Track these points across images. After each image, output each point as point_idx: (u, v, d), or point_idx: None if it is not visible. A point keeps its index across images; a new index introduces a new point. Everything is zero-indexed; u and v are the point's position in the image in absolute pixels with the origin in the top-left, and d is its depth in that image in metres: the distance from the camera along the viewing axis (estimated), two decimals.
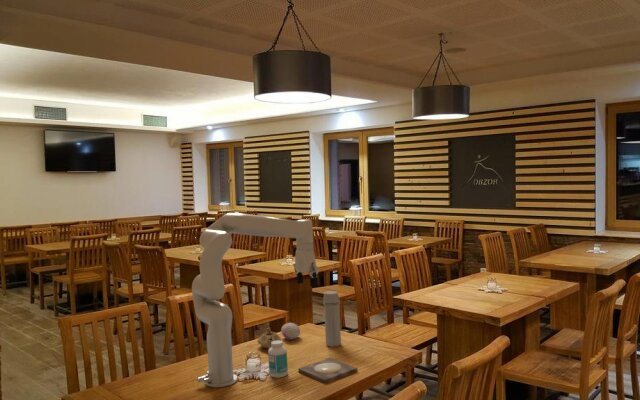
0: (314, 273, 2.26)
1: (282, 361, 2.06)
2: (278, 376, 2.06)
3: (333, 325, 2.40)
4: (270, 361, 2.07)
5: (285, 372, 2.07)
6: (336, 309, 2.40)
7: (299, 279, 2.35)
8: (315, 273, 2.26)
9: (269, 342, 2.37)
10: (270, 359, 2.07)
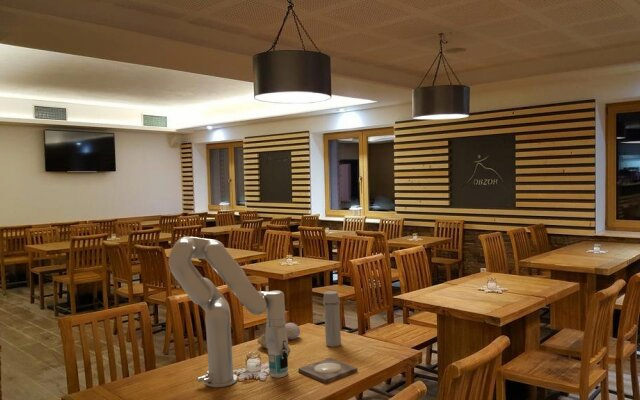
0: (284, 354, 2.04)
1: None
2: (278, 376, 2.06)
3: (333, 325, 2.40)
4: (270, 361, 2.07)
5: (285, 372, 2.07)
6: (336, 309, 2.40)
7: None
8: (285, 354, 2.03)
9: None
10: (270, 359, 2.07)
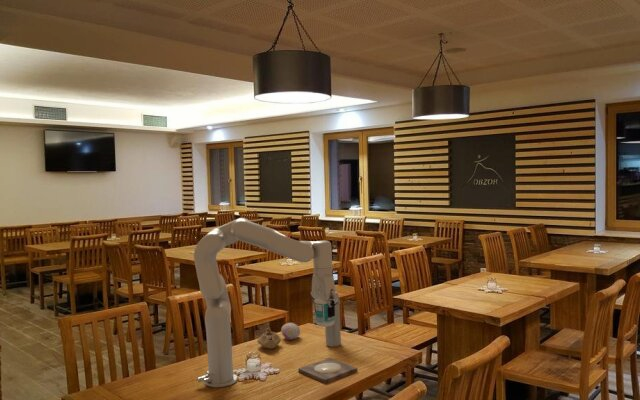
0: (332, 302, 2.04)
1: None
2: (325, 325, 2.06)
3: (333, 325, 2.40)
4: (317, 310, 2.07)
5: (332, 321, 2.07)
6: (336, 309, 2.40)
7: None
8: (333, 302, 2.03)
9: (269, 342, 2.37)
10: (317, 308, 2.07)
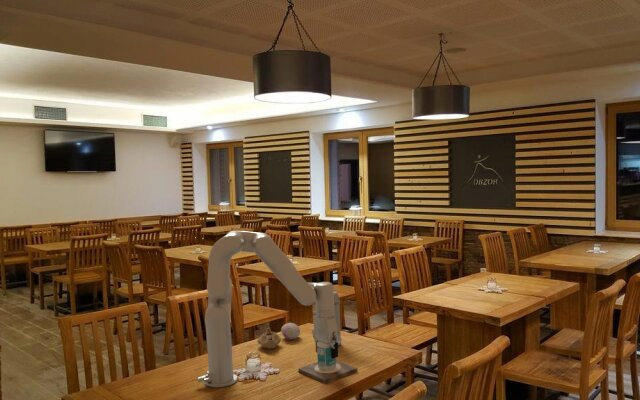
0: (336, 344, 2.04)
1: None
2: (327, 369, 2.07)
3: None
4: (319, 354, 2.08)
5: (334, 365, 2.08)
6: (336, 309, 2.40)
7: None
8: (337, 344, 2.04)
9: (269, 342, 2.37)
10: (319, 352, 2.08)
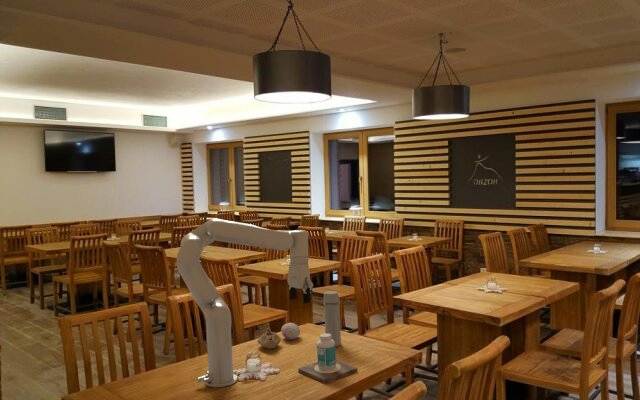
0: (308, 289, 2.08)
1: (331, 354, 2.07)
2: (327, 369, 2.07)
3: (333, 325, 2.40)
4: (319, 354, 2.08)
5: (334, 365, 2.08)
6: (336, 309, 2.40)
7: (292, 294, 2.18)
8: (309, 289, 2.08)
9: (269, 342, 2.37)
10: (319, 352, 2.08)
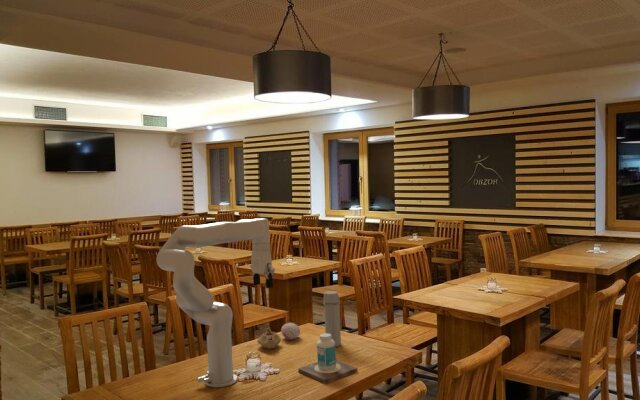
0: (269, 274, 2.17)
1: (331, 354, 2.07)
2: (327, 369, 2.07)
3: (333, 325, 2.40)
4: (319, 354, 2.08)
5: (334, 365, 2.08)
6: (336, 309, 2.40)
7: (256, 280, 2.27)
8: (270, 274, 2.17)
9: (269, 342, 2.37)
10: (319, 352, 2.08)
